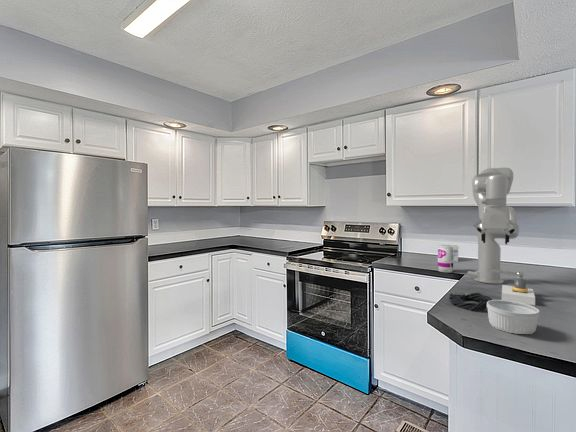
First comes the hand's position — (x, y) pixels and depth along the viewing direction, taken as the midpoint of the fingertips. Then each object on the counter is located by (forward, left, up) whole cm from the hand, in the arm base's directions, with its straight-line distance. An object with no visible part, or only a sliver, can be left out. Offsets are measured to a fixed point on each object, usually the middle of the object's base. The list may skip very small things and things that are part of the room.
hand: (494, 243), depth 134 cm
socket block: (+9, -5, -22) cm, 24 cm away
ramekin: (+6, -46, -22) cm, 51 cm away
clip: (+4, +3, -14) cm, 14 cm away
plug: (+9, -5, -22) cm, 24 cm away
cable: (-7, -27, -22) cm, 35 cm away
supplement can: (-25, +37, -22) cm, 50 cm away
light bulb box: (-29, +82, -22) cm, 90 cm away
